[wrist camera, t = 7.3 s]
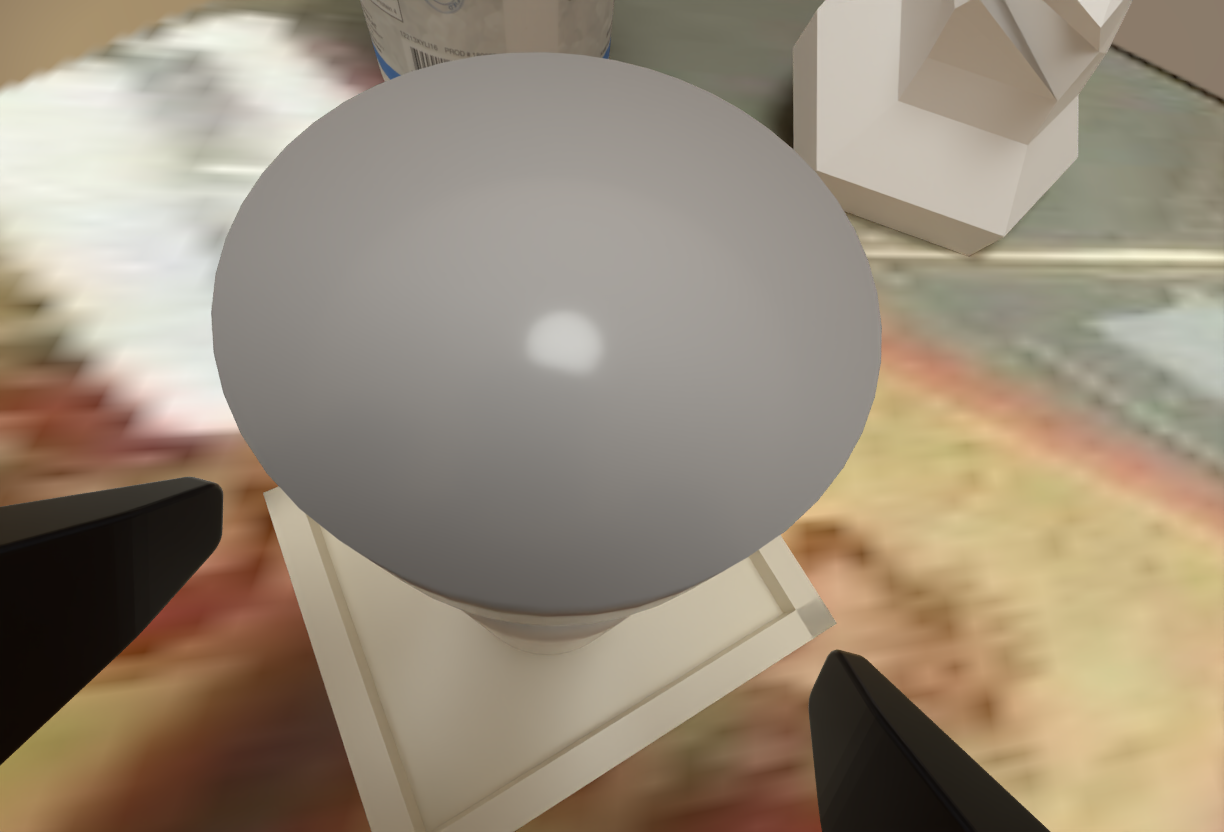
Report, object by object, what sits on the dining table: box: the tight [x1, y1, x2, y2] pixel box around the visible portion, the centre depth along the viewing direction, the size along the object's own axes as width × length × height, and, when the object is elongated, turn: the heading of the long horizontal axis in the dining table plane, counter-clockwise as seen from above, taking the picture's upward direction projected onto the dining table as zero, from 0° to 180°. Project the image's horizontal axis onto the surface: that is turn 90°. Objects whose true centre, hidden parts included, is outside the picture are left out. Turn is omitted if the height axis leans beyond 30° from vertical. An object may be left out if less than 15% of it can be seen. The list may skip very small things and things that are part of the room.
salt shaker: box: [211, 52, 882, 655], centre depth 10 cm, size 5×5×13 cm
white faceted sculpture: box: [793, 0, 1133, 256], centre depth 20 cm, size 12×15×14 cm
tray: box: [263, 487, 836, 832], centre depth 16 cm, size 12×10×2 cm
